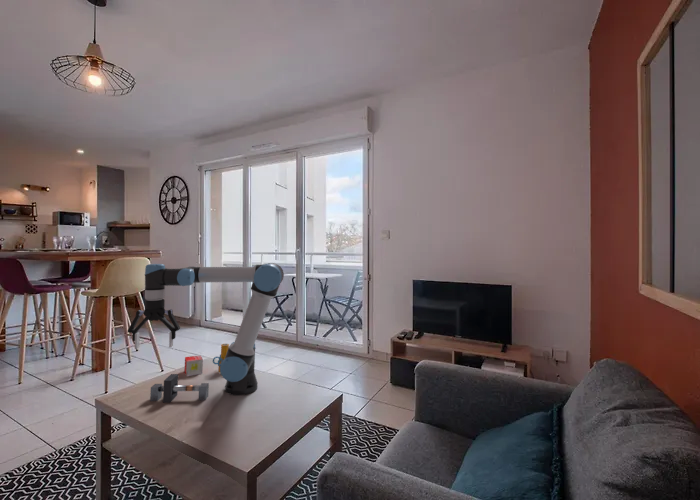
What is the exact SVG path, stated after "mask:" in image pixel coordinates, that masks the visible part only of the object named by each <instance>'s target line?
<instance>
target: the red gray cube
mask: <svg viewBox="0 0 700 500" xmlns="http://www.w3.org/2000/svg"><path fill="white" fill-rule="evenodd" d="M203 365H204V359H203V357H202V355H200V354H199V355H191V356H190V355H189V356H185V357H184V373H185V374H184V375H185V377H190V376H195V375H197V376H198V375H202V374H203V367H204V366H203Z"/></svg>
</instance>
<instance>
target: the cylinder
mask: <svg viewBox="0 0 700 500" xmlns="http://www.w3.org/2000/svg"><path fill="white" fill-rule="evenodd" d="M220 345H221V346H220V354H219V356H215V357H213V358H212V363H213V364H214V365H217V366H218V367H217V368H218V371H217V372H218V373H219V374H221V373H220V366H221V363H222V361H223V360H224V359H225V356H226V354H227V351H228V348H229V346H230V344H229V343H221V344H220ZM216 359H218V360H217V362H215V360H216Z"/></svg>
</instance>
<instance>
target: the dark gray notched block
mask: <svg viewBox="0 0 700 500" xmlns="http://www.w3.org/2000/svg"><path fill="white" fill-rule="evenodd" d="M178 384H179V373H171V374H169V375H168V376H167V377H166V378H165V379H164V380H163V386H164V391H163V392H162V396H163V397H162V403H163V404H164V403H167V404H168V403H169V404H170V403H172V402H173V400H174V399H176V397H177V396H178V392H179V391H172V387H173V386H179V385H178Z"/></svg>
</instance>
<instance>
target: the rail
mask: <svg viewBox="0 0 700 500" xmlns="http://www.w3.org/2000/svg"><path fill="white" fill-rule="evenodd" d="M209 387H210V385H209V382H202V383H201V384H200V385H198V384H193V385H190V384H189V385H187V384H186V385H180V384H179V385H178V386H173V387H172V391H178V392H198V397H197V398H198V401H206V400H207V398H208V397H209V389H210V388H209ZM163 391H164V385H163V383H154V384H153V385H152V386H151V387H150V394H149V396H150V397H149V399H150V400H149V401H150V402H158V401H159V400H160V399H161V398H163V397H162V396H163Z"/></svg>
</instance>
